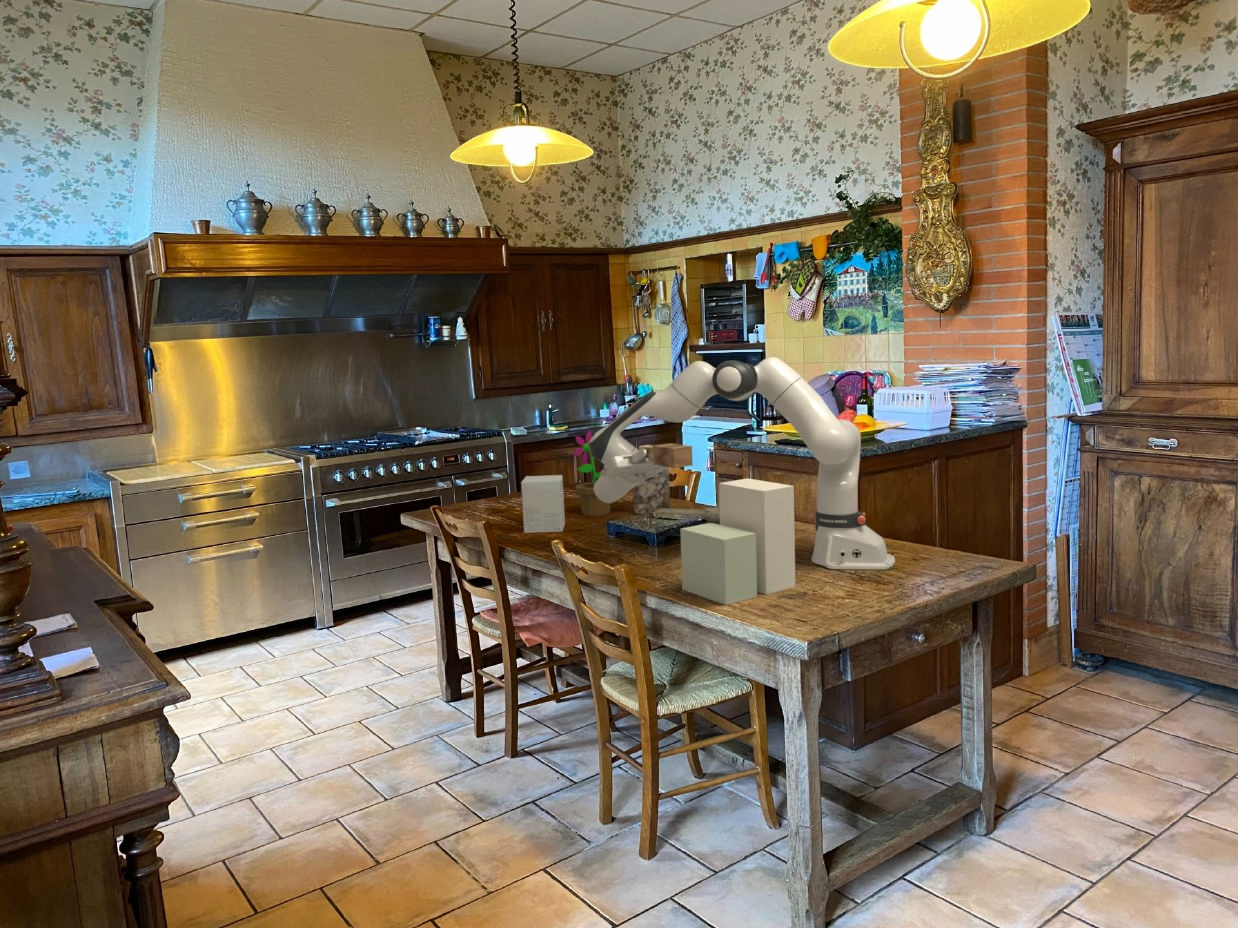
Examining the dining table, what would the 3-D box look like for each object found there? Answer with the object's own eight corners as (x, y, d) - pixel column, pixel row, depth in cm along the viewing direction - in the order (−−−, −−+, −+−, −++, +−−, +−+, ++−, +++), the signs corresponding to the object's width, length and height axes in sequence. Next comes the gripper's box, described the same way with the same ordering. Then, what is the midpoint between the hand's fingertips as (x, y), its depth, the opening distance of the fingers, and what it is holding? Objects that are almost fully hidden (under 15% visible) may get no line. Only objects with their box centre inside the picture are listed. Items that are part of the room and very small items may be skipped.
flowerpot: (600, 507, 346) (597, 428, 342) (623, 512, 335) (619, 431, 330) (569, 513, 338) (564, 432, 334) (591, 518, 326) (586, 435, 322)
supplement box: (565, 523, 320) (563, 474, 317) (562, 531, 307) (560, 480, 304) (528, 525, 320) (525, 475, 318) (523, 533, 307) (520, 482, 304)
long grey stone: (659, 518, 330) (649, 525, 321) (658, 504, 329) (647, 510, 320) (753, 517, 315) (745, 525, 306) (752, 502, 314) (744, 509, 305)
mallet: (634, 461, 248) (634, 443, 247) (652, 458, 251) (652, 440, 250) (674, 468, 233) (673, 448, 233) (692, 465, 237) (692, 446, 236)
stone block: (640, 515, 327) (638, 460, 324) (631, 512, 333) (629, 458, 331) (672, 511, 333) (670, 457, 331) (662, 508, 340) (660, 455, 337)
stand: (682, 589, 233) (679, 489, 229) (749, 573, 246) (747, 478, 242) (726, 604, 219) (723, 498, 215) (795, 586, 232) (793, 485, 228)
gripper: (593, 465, 252) (616, 444, 241) (653, 457, 263) (678, 436, 252) (600, 486, 250) (624, 465, 239) (661, 477, 261) (686, 457, 250)
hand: (652, 450), depth 245 cm, fingers closed on mallet, 3 cm apart
